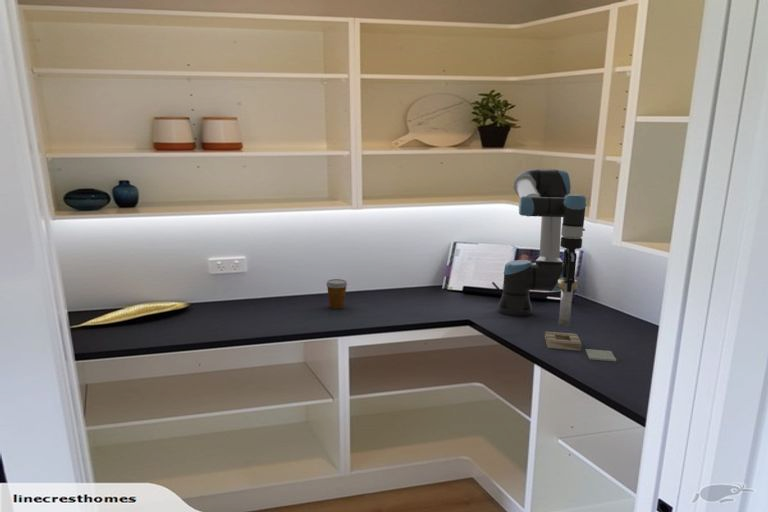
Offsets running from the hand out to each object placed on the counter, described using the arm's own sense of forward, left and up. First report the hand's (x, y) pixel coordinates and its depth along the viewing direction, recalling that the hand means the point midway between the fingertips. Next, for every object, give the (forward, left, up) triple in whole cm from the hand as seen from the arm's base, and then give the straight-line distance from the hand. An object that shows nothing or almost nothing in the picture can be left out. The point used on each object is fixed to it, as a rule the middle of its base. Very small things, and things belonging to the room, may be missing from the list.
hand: (566, 297), depth 211 cm
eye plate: (0, 0, -18) cm, 18 cm away
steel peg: (0, 0, -11) cm, 11 cm away
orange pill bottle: (-26, -96, -19) cm, 101 cm away
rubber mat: (+10, +12, -18) cm, 24 cm away
